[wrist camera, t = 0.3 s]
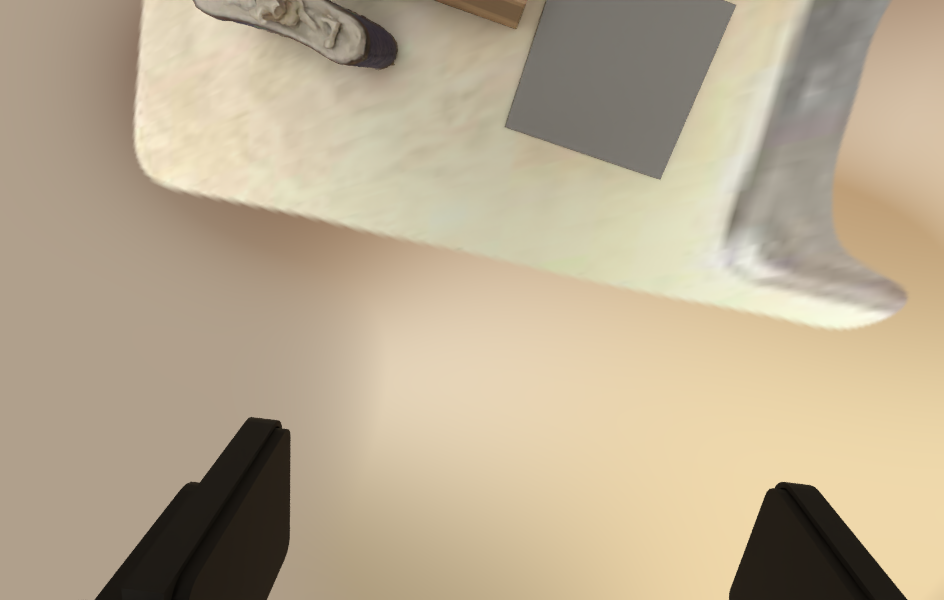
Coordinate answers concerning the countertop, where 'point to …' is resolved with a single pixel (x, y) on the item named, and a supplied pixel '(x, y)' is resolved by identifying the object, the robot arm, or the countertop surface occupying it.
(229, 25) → the countertop surface
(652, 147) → the mat
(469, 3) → the brown block with knob
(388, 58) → the flask
